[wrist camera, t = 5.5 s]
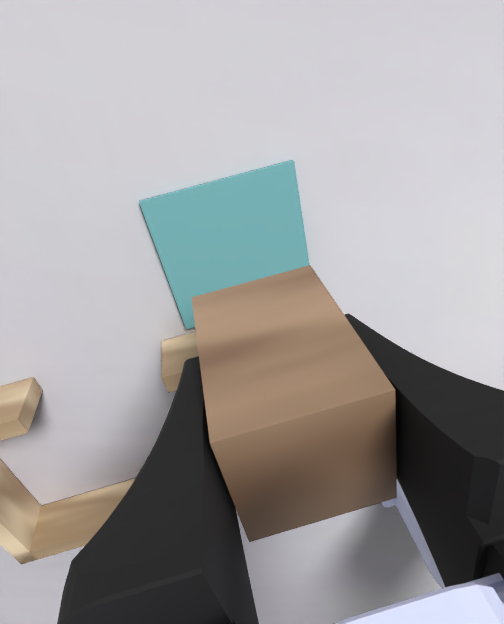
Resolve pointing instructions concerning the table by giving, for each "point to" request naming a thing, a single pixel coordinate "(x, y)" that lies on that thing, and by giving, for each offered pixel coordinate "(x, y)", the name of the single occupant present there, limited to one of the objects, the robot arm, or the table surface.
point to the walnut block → (293, 403)
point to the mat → (228, 232)
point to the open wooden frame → (75, 510)
